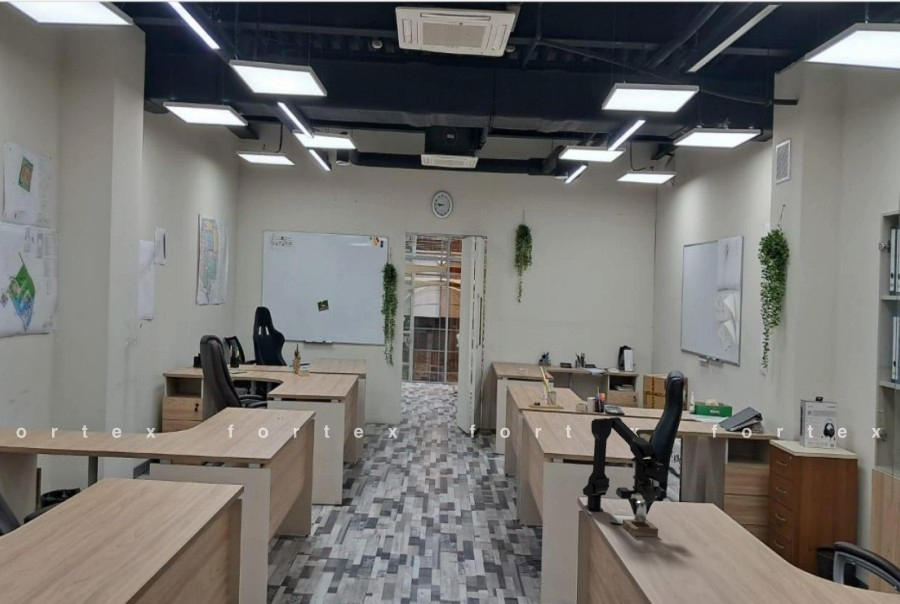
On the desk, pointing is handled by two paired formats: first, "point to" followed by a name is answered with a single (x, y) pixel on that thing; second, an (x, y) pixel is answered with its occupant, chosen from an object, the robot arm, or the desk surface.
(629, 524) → the frame
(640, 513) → the metal cylinder
